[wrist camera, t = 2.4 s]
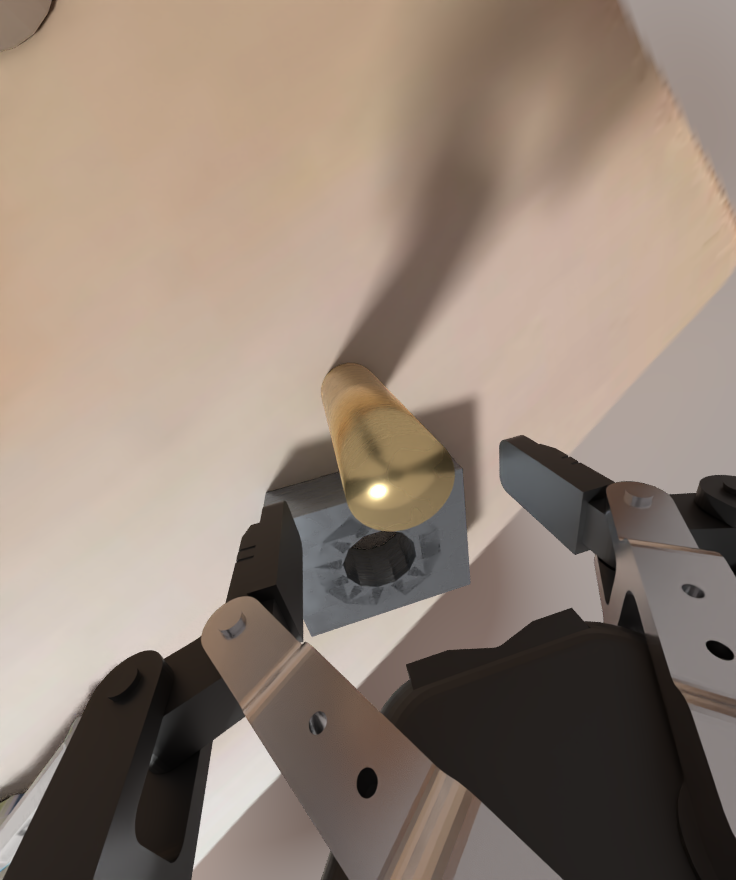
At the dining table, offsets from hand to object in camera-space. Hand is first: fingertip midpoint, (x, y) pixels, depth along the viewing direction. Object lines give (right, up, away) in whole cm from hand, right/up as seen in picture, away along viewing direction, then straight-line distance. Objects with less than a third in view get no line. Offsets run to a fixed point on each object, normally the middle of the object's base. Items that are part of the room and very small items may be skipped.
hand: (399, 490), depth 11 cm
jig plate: (-1, -6, +16) cm, 17 cm away
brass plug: (-2, +5, +10) cm, 12 cm away
